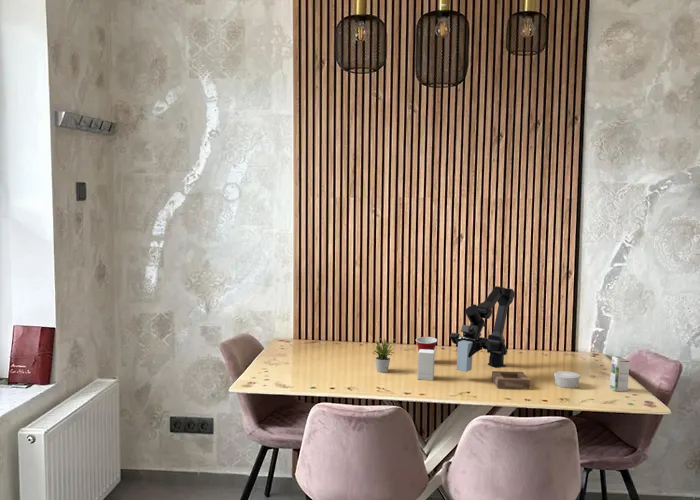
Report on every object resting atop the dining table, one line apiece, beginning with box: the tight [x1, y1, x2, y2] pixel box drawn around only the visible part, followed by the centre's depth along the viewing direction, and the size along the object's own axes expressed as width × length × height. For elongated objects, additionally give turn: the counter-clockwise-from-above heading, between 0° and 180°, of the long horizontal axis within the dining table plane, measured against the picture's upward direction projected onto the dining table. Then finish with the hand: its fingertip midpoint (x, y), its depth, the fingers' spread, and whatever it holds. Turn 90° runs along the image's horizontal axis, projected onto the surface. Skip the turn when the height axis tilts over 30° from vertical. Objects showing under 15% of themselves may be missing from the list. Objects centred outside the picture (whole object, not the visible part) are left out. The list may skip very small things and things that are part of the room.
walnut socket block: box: [491, 370, 531, 390], centre depth 303 cm, size 14×14×4 cm
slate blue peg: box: [456, 340, 473, 373], centre depth 308 cm, size 5×5×13 cm
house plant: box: [371, 337, 397, 373], centre depth 320 cm, size 14×14×16 cm
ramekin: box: [553, 370, 581, 389], centre depth 303 cm, size 11×11×5 cm
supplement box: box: [416, 349, 436, 381], centre depth 310 cm, size 7×7×13 cm
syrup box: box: [609, 355, 630, 392], centre depth 297 cm, size 6×6×14 cm
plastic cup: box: [415, 336, 438, 352], centre depth 338 cm, size 11×11×12 cm
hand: (463, 356), depth 307 cm, fingers closed on slate blue peg, 5 cm apart
